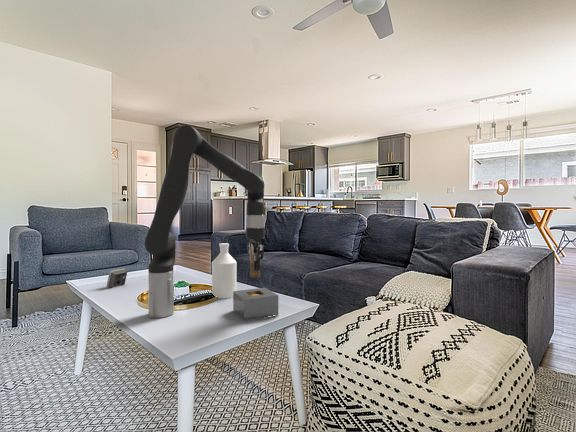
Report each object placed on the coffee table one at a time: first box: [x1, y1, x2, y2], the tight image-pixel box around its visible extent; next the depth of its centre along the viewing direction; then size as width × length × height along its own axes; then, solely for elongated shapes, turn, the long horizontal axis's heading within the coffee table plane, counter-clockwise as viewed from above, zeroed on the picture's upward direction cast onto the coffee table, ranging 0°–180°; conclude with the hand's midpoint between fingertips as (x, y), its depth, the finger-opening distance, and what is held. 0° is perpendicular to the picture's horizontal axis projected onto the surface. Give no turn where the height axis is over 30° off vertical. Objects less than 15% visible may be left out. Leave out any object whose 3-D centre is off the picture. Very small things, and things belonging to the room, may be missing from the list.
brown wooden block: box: [249, 247, 261, 279], centre depth 130 cm, size 4×4×12 cm
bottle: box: [211, 242, 238, 299], centre depth 157 cm, size 12×12×25 cm
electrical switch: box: [106, 268, 128, 289], centre depth 176 cm, size 9×5×9 cm, turn 159°
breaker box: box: [232, 287, 279, 322], centre depth 130 cm, size 14×14×8 cm
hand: (255, 269), depth 130 cm, fingers closed on brown wooden block, 4 cm apart
